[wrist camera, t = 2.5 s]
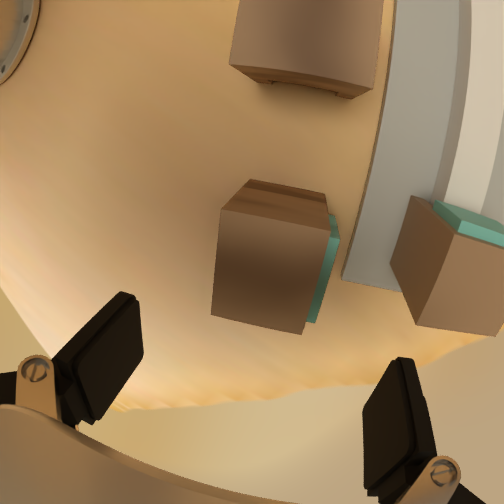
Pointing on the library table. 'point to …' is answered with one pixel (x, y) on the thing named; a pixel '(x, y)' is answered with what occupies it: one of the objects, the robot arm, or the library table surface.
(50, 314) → the library table surface
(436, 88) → the rail board
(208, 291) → the library table surface
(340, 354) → the library table surface
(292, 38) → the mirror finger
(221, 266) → the block
